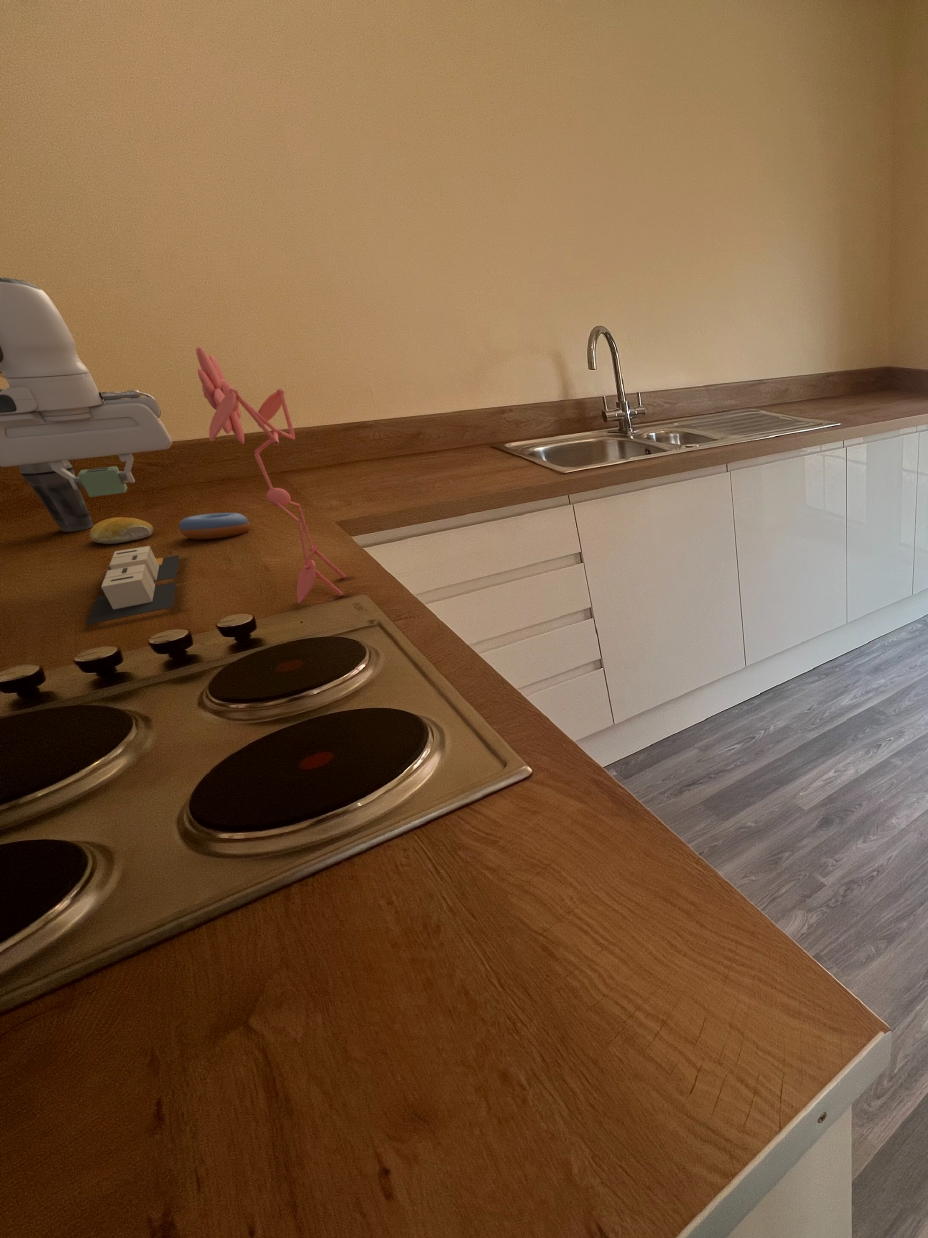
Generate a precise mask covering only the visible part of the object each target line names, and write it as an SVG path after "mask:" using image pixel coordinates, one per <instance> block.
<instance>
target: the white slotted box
mask: <svg viewBox="0 0 928 1238" xmlns="http://www.w3.org/2000/svg"><path fill="white" fill-rule="evenodd" d="M104 578H105V577H104ZM101 587H102V589H103V591H102V592H103V593H104V595H106V597H107V599H108V600H109V602H110V604H111V606H112V608H113V609H119V608H124V607H129V606H134V605H139V604H144V603H150V602H152V600H153V595H154V593H153V591H152V589H151V587H150V585H149V583H148V581H147V579H146V577H145V575H144V573H143V572H140V573H134V574H128V575H122V576H117V577H111V578H105V579H103V581H102V583H101V586H100V588H101Z"/></svg>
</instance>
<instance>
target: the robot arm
mask: <svg viewBox="0 0 928 1238" xmlns="http://www.w3.org/2000/svg"><path fill="white" fill-rule="evenodd" d="M76 349H77V348H76V341H75V339H74V337H73V335H72V333H71V331H70V329H69V327H68V325H67V324H66V322H65V320H64V319H63V317H62V315H61V313H60V311H59V310H58V308H57V307H56V304H55V303H54V301H52V299H51V298H50V297H49V296H48V294H47V293H46V292H45V291H44V290H43V289H41V288H40V287H39V286H37V285H36V284H33V283H31V282H29V281H27V280H26V281H25V280H23V279H17V278H10V277H5V276H4V277H2V276H0V374H3V376H4V378H5V380H6V382H7V383H8V387H7V388H0V468H1V467H2V468H8V467H19V465H28V464H37V463H46V462H49V464H50V466H51V468H52V470H54V471H55V472H57V473H58V474H60V475H61V476H63V477H64V478H66V479H69V481H70V483H71V485H72V487H73V489H74V490H80V491H81V490H85V488H84V486H83V484H82V482H81V480H80V478H79V476H78V475H77V476H76V475H75V476H74V475H73V474H71V473H70V472H69V471H67V470H66V469H64V468H65V466H66V463H65V460H68V461H73V460H74V461H75V460H82V459H92V458H102V457H109V456H110V457H111V456H118V459H119V460H120V462H122V463H123V462H125V464H124V465H125V466H124V470H122V471H121V470H119V471H120V472H118V476H119V478H120V479H121V482H122V483H123V484H126V485H128V484H133V483H135V482H136V480H135V477H134V476H133V473H132V467H133V464H134V461H135V457H134V456H133V454H138V453H146V452H147V453H149V452H155V451H156V452H157V451H165V450H169V449H170V448H171V446H172V445H173V440H172V438H171V436H170V433H169V431H168V429H167V428H166V426H165V425H164V423H163V422H162V420H161V419H160V417H161V414H162V410H161V408H160V406H159V404H158V401H157V400H156V398H154V397H153V396H152V395H150V394H148V393H146V392H141V391H139V390H133V389H131V390H126V391H125V390H124V391H103V392H100V391H99V389H98V386H97V385H96V382H95V381H94V379H93V377H92V374H91V373H90V371H89V369H88V367H87V365H85V364H84V363H83V362H82V361H81V359H80V357H79V355H78V353H77V350H76Z"/></svg>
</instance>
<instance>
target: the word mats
mask: <svg viewBox="0 0 928 1238" xmlns="http://www.w3.org/2000/svg"><path fill="white" fill-rule="evenodd" d="M179 560H180V554H176V555H171V556H165V557H158V558H157V557H156V561H157V563H158V565H159V570H158V575H157V580H156V581H153V582H154V583H156V582H161V581H166V580H172V579H177V576H178V569H179V562H180V561H179ZM108 570H112V569H111V568H110V566H108V567H107V571H108ZM107 571H106V572H107ZM103 578H104V579H105V577H103ZM104 579H103V580H104ZM176 584H177V581H174V582H167V583H163V584H157V585H155V589H154V595H153V600H152V602H150V603H144V604H139V605H134V606H129V607H124V608H119V609H113V608H112V606H111V604H110V602H109V600H108V599H107V597H106V595H105V594H104V595H98V596H97V597H96V598H95V601H94V604H93V606H92V609H91V612H90V614H89V617H88V619H87V622H86V624H85V625H91V624H97V623H101V622H108V621H111V620H117V619H122V618H126V617H132V616H138V615H142V614H146V613H147V614H148V613H152V612H156V611H162V610H165V609H166V610H167V609H171V608H174V601H175V594H176V587H177V586H176ZM98 592H99V593H100V592H101V593H102V592H104V591H103V589H102V587H101V586H100V589H99V591H98Z"/></svg>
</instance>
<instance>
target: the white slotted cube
mask: <svg viewBox="0 0 928 1238" xmlns="http://www.w3.org/2000/svg"><path fill="white" fill-rule="evenodd" d="M107 570H108V569H107ZM140 572H143V573H144V575H145V577H146V579H147V581H148V583H149V585H150V587H151V589H152V591H153V593H154V589H155V586H156V584H155V582H153V580H152V578H151V576H150V574H149V572H148V570H147V568H146V566H145V564H143V565H137V566H131V567H125V568H119V569H113V570H108V571H106V573H105V575H104V578H111V577H117V576H122V575H128V574H134V573H140Z"/></svg>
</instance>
